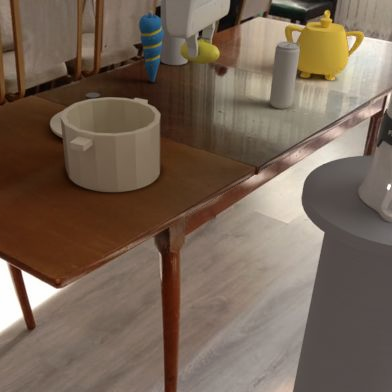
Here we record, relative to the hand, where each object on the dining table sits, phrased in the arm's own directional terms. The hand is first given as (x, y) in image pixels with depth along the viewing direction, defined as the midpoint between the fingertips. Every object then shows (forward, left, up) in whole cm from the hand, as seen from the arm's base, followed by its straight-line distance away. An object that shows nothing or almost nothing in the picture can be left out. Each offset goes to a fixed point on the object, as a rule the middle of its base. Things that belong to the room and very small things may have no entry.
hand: (199, 52), depth 115 cm
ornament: (+18, -16, -13) cm, 28 cm away
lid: (+16, +12, -13) cm, 24 cm away
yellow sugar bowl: (-13, -43, -13) cm, 47 cm away
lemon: (0, 0, -2) cm, 2 cm away
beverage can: (-12, -17, -13) cm, 25 cm away
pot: (+4, +26, -13) cm, 29 cm away
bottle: (+20, -32, -13) cm, 40 cm away
